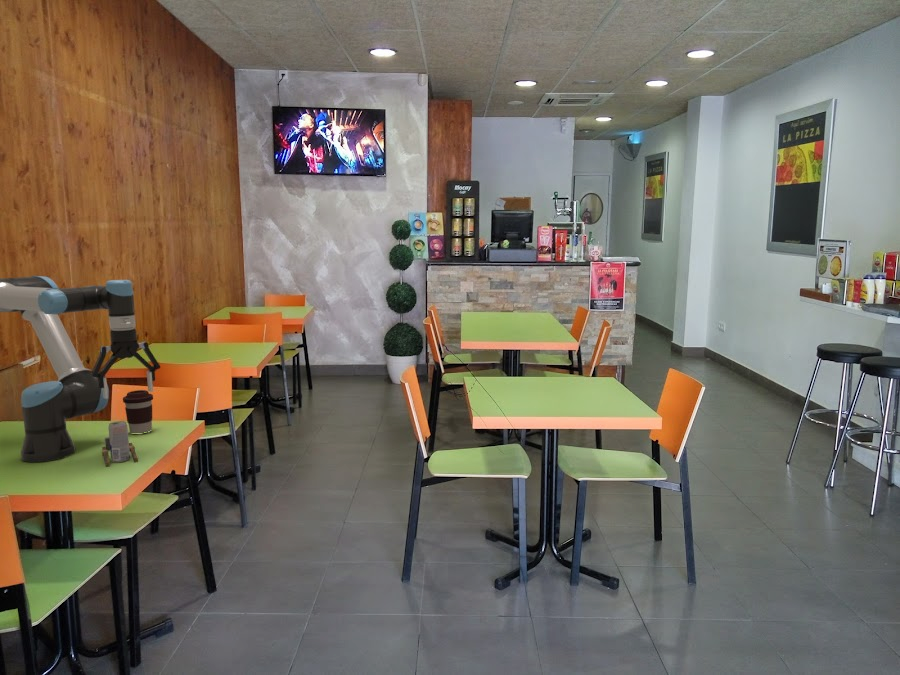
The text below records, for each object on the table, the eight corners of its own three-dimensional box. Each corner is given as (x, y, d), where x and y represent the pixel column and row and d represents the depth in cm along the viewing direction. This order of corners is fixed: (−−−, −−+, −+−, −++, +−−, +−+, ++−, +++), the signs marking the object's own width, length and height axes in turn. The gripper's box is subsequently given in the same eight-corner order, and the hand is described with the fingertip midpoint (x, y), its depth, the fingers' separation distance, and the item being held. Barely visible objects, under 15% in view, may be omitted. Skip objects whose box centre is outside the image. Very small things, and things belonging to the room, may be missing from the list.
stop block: (106, 450, 231) (105, 439, 230) (105, 449, 232) (104, 437, 232) (128, 447, 234) (127, 435, 233) (128, 445, 236) (127, 434, 235)
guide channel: (105, 467, 213) (104, 462, 213) (101, 450, 231) (100, 446, 231) (139, 461, 218) (138, 457, 218) (132, 445, 235) (132, 441, 235)
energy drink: (123, 456, 224) (120, 420, 222) (133, 458, 221) (130, 422, 219) (107, 461, 219) (104, 424, 218) (118, 463, 217) (115, 426, 215)
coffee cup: (134, 429, 257) (130, 389, 255) (160, 428, 257) (157, 388, 255) (120, 436, 247) (116, 395, 245) (148, 436, 247) (144, 394, 245)
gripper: (82, 334, 210) (88, 402, 213) (167, 326, 225) (172, 390, 229) (76, 331, 215) (83, 398, 219) (159, 324, 231) (164, 386, 234)
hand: (128, 394), depth 224 cm, fingers open, 13 cm apart
